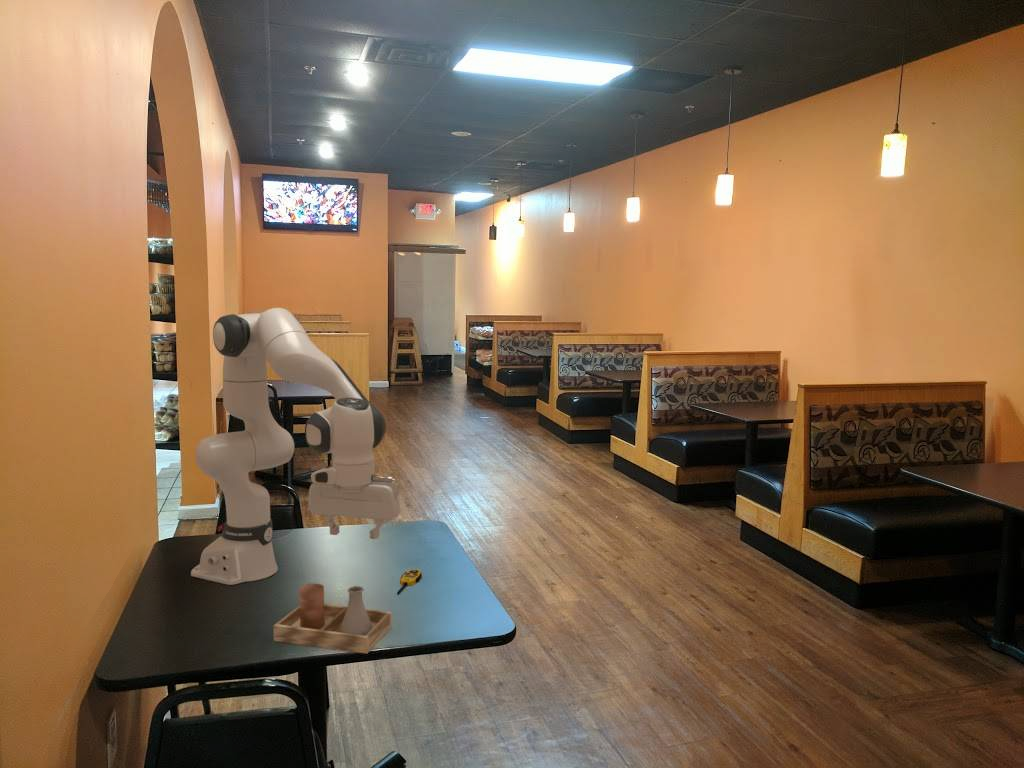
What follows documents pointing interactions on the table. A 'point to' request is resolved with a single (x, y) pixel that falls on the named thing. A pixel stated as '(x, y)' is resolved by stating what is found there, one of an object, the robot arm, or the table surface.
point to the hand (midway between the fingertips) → (354, 536)
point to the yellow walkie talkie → (410, 578)
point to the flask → (356, 614)
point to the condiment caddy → (327, 624)
